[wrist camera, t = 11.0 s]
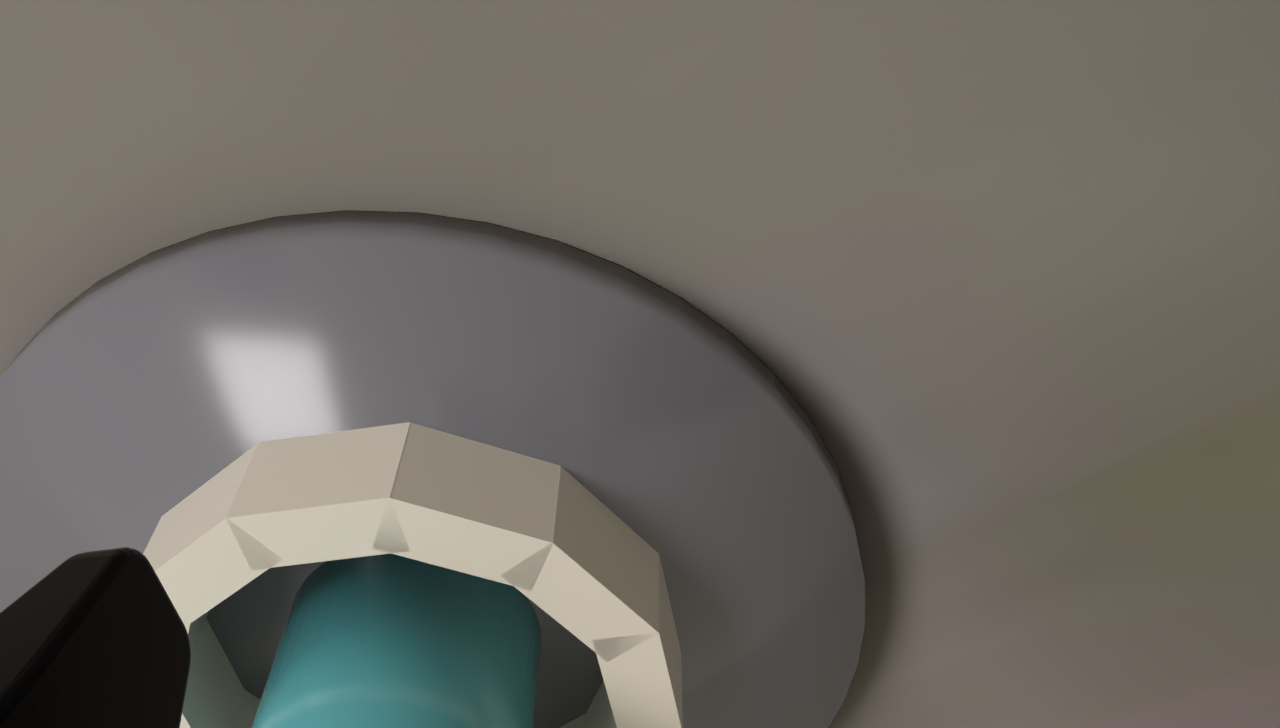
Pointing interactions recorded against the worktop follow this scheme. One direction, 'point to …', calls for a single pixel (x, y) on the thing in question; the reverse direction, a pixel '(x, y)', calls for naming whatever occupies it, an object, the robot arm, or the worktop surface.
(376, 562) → the teal rounded cylinder
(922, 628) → the worktop surface
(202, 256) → the round tray
